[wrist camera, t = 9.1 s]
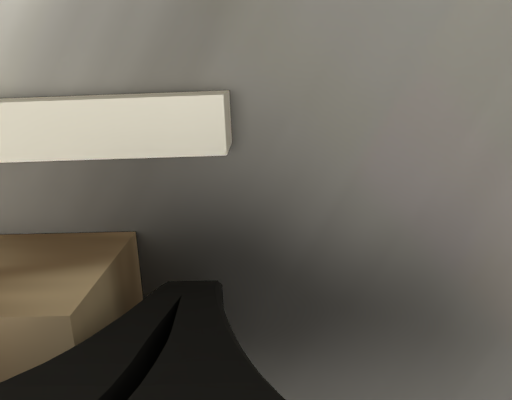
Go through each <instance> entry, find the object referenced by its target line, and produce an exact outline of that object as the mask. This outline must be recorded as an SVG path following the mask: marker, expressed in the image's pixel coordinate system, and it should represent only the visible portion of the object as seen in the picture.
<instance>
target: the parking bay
mask: <svg viewBox="0 0 512 400" xmlns="http://www.w3.org/2000/svg"><path fill="white" fill-rule="evenodd" d="M231 144H232V132H231V113H230V93H229V90H225V91H197V92H169V93H142V94H114V95H86V96H58V97H30V98H2V99H0V163H4V162H36V161H67V160H99V159H131V158H162V157H194V156H226V155H227V154H228V151H229V149H230V147H231Z"/></svg>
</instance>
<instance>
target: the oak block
mask: <svg viewBox="0 0 512 400" xmlns="http://www.w3.org/2000/svg"><path fill="white" fill-rule="evenodd" d="M142 300H143V294H142V285H141V276H140V267H139V258H138V249H137V240H136V232H98V233H54V234H10V235H0V382H3V381H5V380H7V379H9V378H12V377H14V376H16V375H18V374H20V373H23V372H25V371H27V370H29V369H32V368H34V367H36V366H38V365H41V364H43V363H45V362H47V361H49V360H50V359H52V358H54V357H56V356H58V355H60V354H62V353H64V352H65V351H67V350H69V349H71V348H73V347H74V346H76V345H78V344H80V343H81V342H83V341H85V340H86V339H88V338H89V337H91V336H92V335H94V334H95V333H97V332H98V331H100V330H101V329H103V328H104V327H106V326H107V325H109V324H110V323H112V322H113V321H115V320H116V319H118V318H119V317H121V316H122V315H123V314H125V313H126V312H127V311H129V310H130V309H132V308H133V307H134V306H136V305H137V304H138V303H140V302H141V301H142Z"/></svg>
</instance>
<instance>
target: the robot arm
mask: <svg viewBox="0 0 512 400" xmlns="http://www.w3.org/2000/svg"><path fill="white" fill-rule="evenodd" d="M0 400H285V399H284V398H283V397H282V396H281V395H280V394H279V393H278V392H277V391H276V390H275V389H274V388H273V387H272V386H271V385H270V384H269V383H268V382H267V381H266V380H265V379H264V378H263V377H262V375H261V374H260V373H259V372H258V370H257V369H256V368H255V367H254V365H253V364H252V363H251V361H250V360H249V359H248V357H247V356H246V354H245V353H244V351H243V350H242V348H241V346H240V345H239V343H238V341H237V339H236V337H235V335H234V333H233V331H232V329H231V327H230V325H229V323H228V320H227V317H226V315H225V312H224V308H223V292H222V285H221V284H220V283H219V282H218V281H177V282H167V283H165V284H164V285H162V286H161V287H159V288H158V289H157V290H155V291H154V292H153V293H151V294H150V295H149V296H147V297H146V298H145V299H144V300H142V301H141V302H140V303H138V304H137V305H136V306H134V307H133V308H132V309H130V310H129V311H127V312H126V313H125V314H123V315H122V316H121V317H119V318H118V319H116V320H115V321H113V322H112V323H110V324H109V325H107V326H106V327H104V328H103V329H101V330H100V331H98V332H97V333H95V334H94V335H92V336H91V337H89V338H88V339H86V340H85V341H83V342H81V343H80V344H78V345H76V346H74V347H73V348H71V349H69V350H67V351H65V352H64V353H62V354H60V355H58V356H56V357H54V358H52V359H50V360H49V361H47V362H45V363H43V364H41V365H38V366H36V367H34V368H32V369H29V370H27V371H25V372H23V373H20V374H18V375H16V376H14V377H12V378H9V379H7V380H5V381H3V382H0Z"/></svg>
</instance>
